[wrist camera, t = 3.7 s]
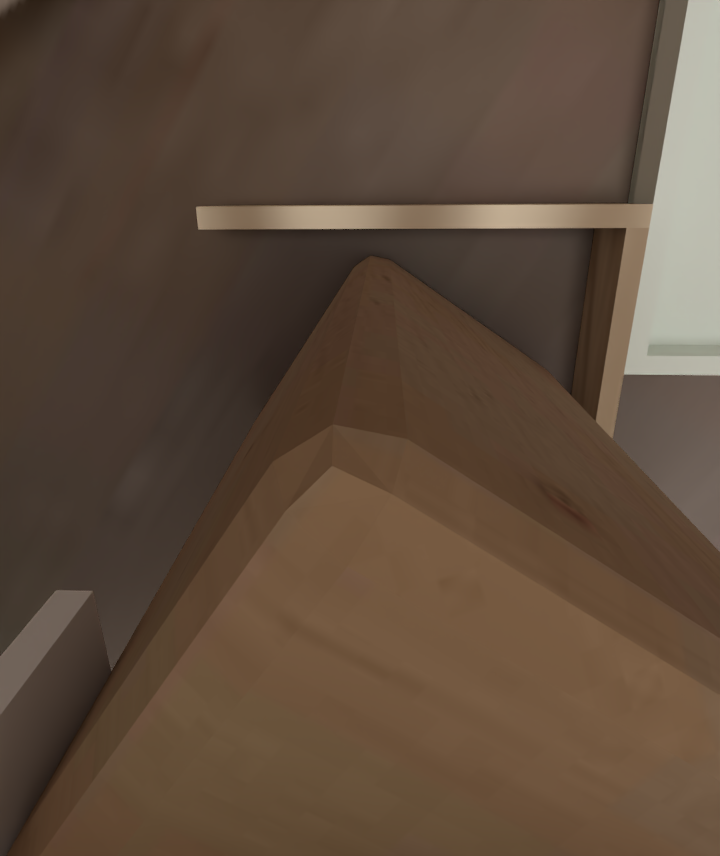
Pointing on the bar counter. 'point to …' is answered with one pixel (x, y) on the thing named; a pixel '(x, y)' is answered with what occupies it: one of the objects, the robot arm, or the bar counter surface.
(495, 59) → the bar counter surface
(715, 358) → the tray
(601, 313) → the bay
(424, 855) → the wooden block
